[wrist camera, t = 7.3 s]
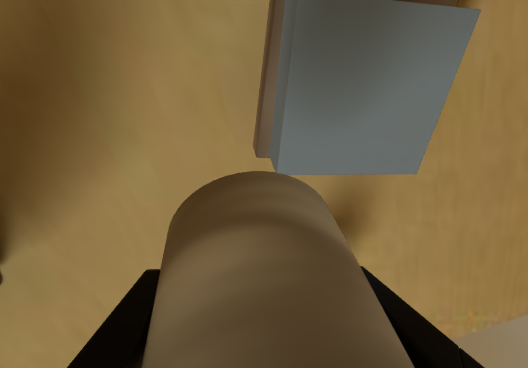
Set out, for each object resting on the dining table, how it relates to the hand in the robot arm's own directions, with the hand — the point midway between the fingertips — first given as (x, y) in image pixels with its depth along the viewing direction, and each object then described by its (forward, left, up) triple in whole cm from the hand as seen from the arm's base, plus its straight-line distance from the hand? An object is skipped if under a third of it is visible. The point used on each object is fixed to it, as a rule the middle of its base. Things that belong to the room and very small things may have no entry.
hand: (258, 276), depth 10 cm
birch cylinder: (0, 0, -2) cm, 2 cm away
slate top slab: (+7, +4, -11) cm, 13 cm away
